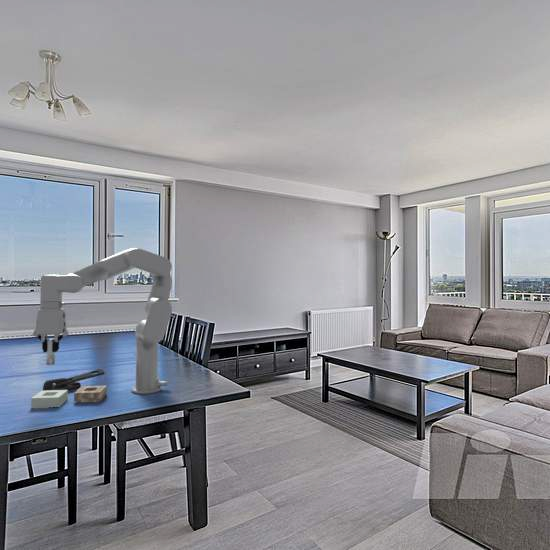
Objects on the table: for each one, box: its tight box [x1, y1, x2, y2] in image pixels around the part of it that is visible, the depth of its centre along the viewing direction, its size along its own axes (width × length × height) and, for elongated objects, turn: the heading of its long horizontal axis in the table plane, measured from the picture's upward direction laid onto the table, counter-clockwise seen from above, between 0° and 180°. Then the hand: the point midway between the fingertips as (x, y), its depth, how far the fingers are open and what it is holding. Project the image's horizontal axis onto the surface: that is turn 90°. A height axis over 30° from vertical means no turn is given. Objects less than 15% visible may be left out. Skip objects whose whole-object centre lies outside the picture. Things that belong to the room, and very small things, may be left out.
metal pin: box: [45, 338, 56, 366], centre depth 162 cm, size 3×3×10 cm
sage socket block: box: [30, 390, 69, 409], centre depth 162 cm, size 10×10×4 cm
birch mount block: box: [73, 385, 107, 403], centre depth 169 cm, size 10×10×4 cm
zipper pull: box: [42, 369, 106, 392], centre depth 183 cm, size 9×7×25 cm
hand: (50, 351), depth 162 cm, fingers closed on metal pin, 3 cm apart
